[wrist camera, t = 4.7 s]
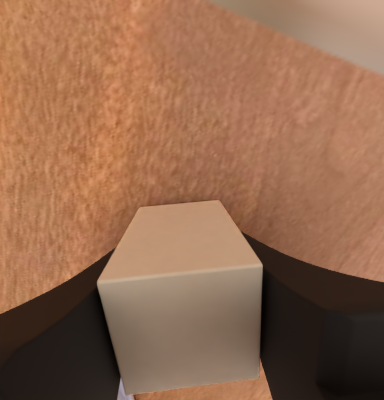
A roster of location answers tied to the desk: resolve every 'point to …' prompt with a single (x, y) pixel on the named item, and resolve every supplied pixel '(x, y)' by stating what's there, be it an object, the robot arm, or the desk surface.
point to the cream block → (183, 299)
